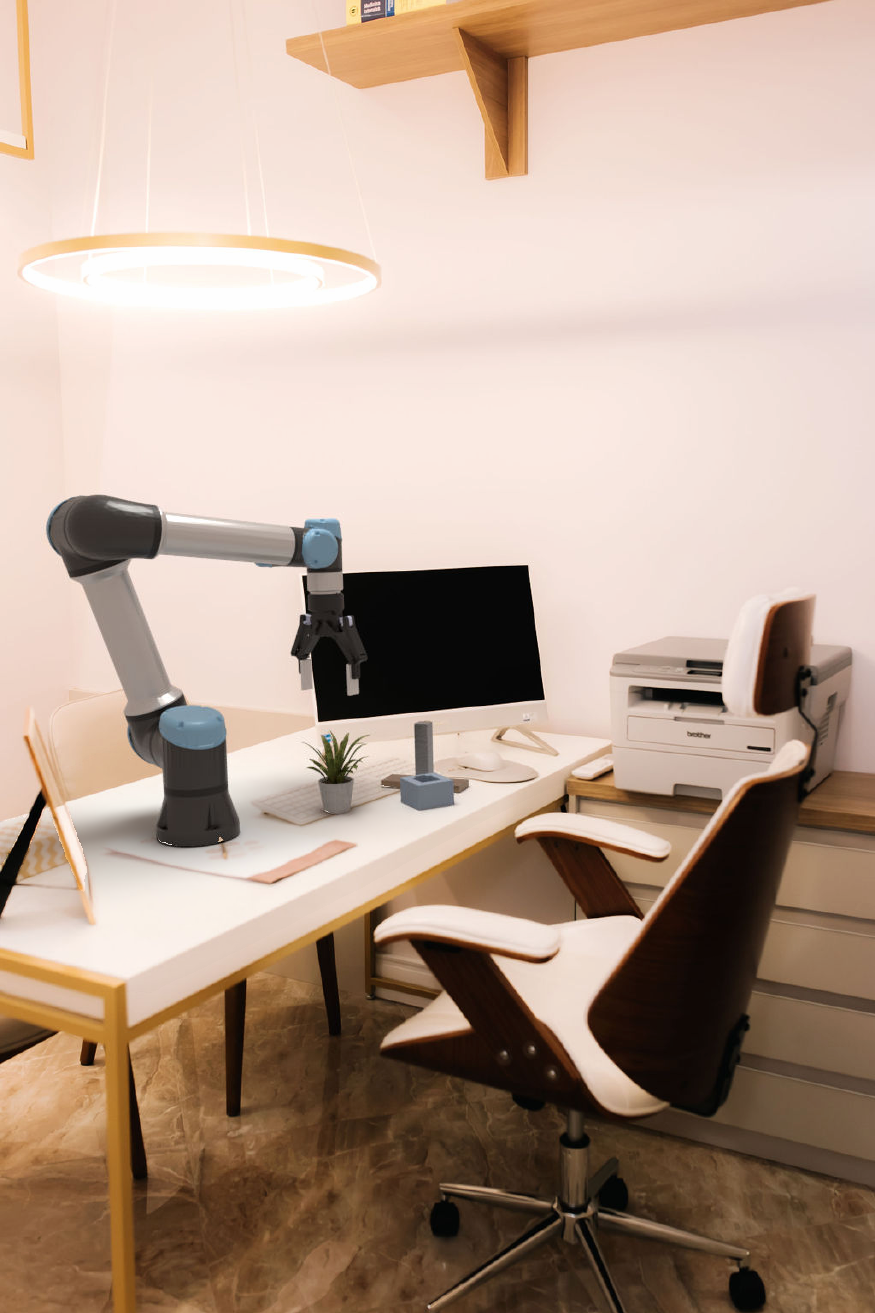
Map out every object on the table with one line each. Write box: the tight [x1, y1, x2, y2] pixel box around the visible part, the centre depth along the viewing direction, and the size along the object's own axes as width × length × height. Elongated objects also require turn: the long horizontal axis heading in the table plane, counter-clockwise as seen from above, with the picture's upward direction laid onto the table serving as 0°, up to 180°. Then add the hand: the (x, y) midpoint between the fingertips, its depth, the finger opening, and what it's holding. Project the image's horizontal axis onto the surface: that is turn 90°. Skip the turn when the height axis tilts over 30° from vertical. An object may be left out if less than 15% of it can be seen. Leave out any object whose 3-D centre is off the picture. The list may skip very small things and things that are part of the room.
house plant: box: [302, 729, 371, 815], centre depth 207 cm, size 14×14×16 cm
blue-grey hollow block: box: [399, 772, 455, 811], centre depth 212 cm, size 8×8×5 cm
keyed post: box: [380, 720, 470, 794], centre depth 224 cm, size 6×18×14 cm, turn 69°
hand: (329, 692), depth 222 cm, fingers open, 13 cm apart
